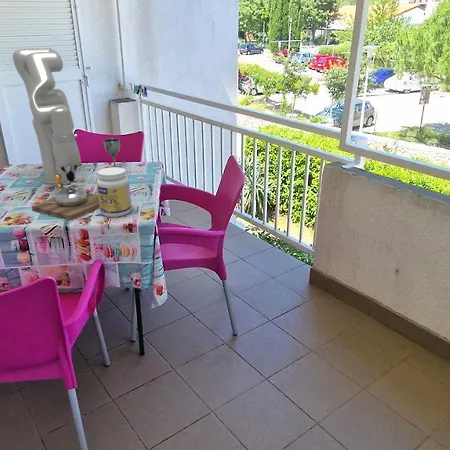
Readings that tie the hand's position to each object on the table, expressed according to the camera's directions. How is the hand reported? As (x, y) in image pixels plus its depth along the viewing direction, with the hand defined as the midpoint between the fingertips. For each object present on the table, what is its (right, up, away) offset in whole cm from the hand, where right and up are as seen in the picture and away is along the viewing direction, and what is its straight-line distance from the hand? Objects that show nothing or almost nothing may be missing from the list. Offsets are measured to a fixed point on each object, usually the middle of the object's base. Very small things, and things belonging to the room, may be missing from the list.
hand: (71, 181), depth 186 cm
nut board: (+3, -11, -8) cm, 14 cm away
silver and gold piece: (+1, -8, -6) cm, 10 cm away
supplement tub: (+23, -14, -13) cm, 30 cm away
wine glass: (+8, +11, +41) cm, 43 cm away
